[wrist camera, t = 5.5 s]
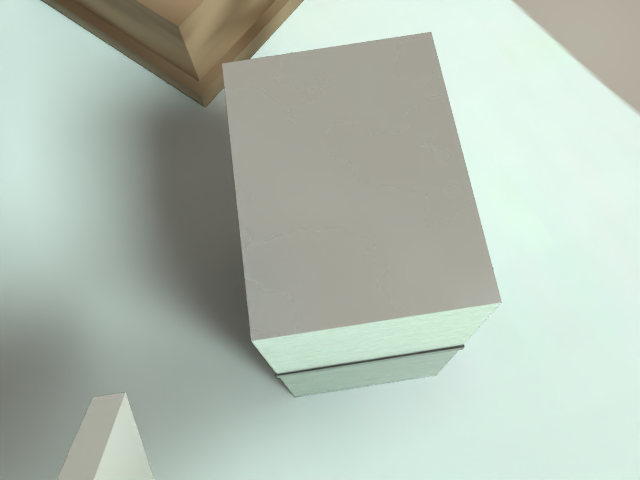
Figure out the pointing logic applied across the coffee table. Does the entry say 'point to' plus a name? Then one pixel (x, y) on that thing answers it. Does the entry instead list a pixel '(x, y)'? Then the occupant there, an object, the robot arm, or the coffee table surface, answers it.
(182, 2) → the walnut stand
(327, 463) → the coffee table surface
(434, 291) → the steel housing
